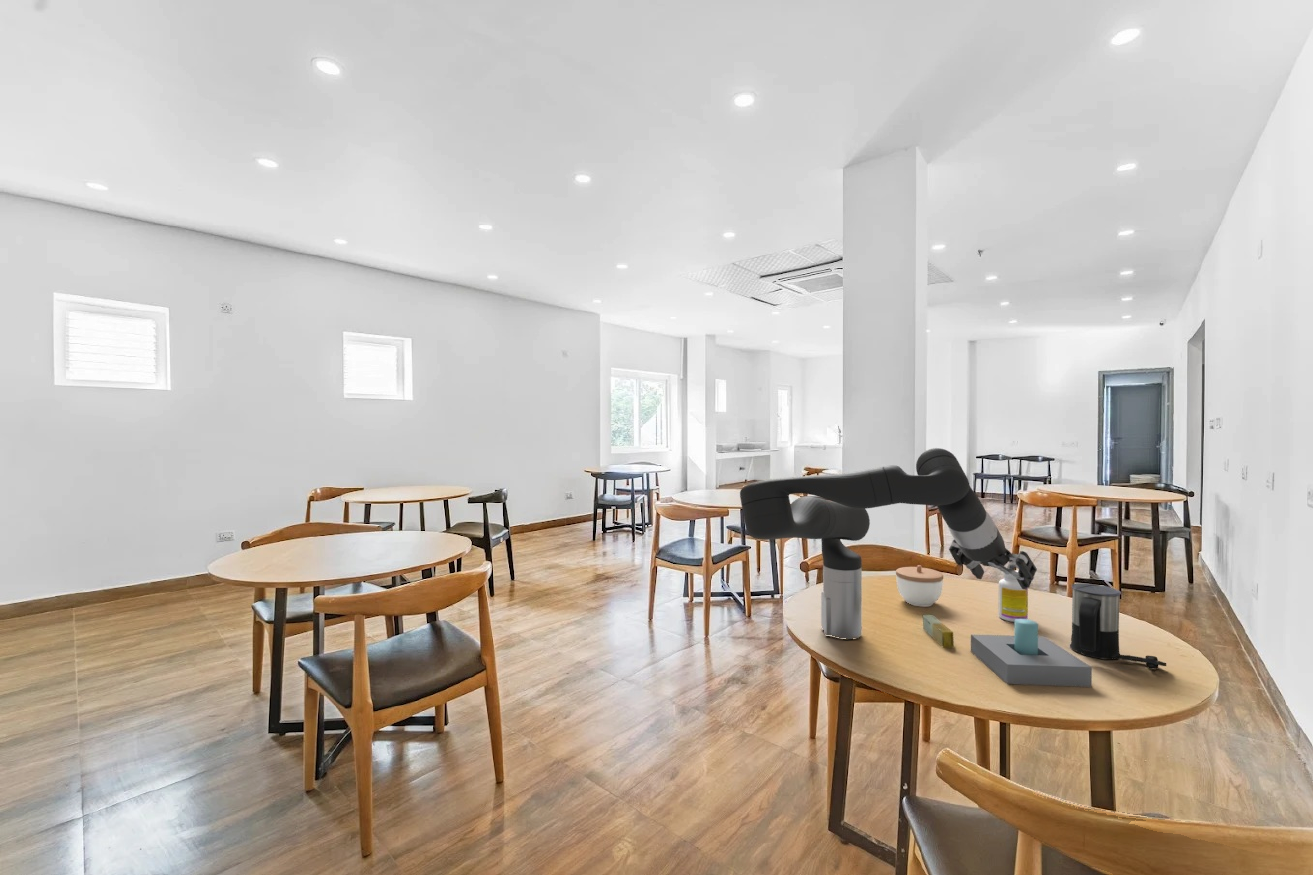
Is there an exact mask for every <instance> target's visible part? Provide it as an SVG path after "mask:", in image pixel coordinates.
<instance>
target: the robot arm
mask: <svg viewBox="0 0 1313 875" xmlns="http://www.w3.org/2000/svg"><path fill="white" fill-rule="evenodd" d="M915 464H916V465H915V470H916V473H917V475H915V474H908V473H907V472H905V471H904V470H903V469H902V468H901V467H900V466H898V465H895V464H893V465H892V464H891V465H886V466H879V467H875V468H869V469H868V468H867V469H864V470H859V471H853V472H845V473H836V474H834V473H832V474H817V475H804V476H795V477H781V478H771V479H765V480H759V481H754V482H752V483H749V484H747V485H744V486H743V487H742V488H741V489H740V492H739V497H740V504H741V510H742V514H743V520H744V525H745V530H746V531H747V535H748V536H749V537H750V538H753V539H755V540H762V541H763V540H764V541H765V540H766V541H767V540H779V539H780V540H781V539H790V538H794V539H795V538H797V539H806V540H821V555H822V566H823V567H822V569H823V570H822V572H823V573H822V577H823V578H822V582H823V584H822V586H823V587H822V589H823V591H821V593H820V594H821V596H820V599H821V606H820V607H821V608H820V609H821V610H820V612H821V614H820V615H821V616H820V617H821V619H820V620H821V621H820V623H821V626H822V628H823V630H824V632H825V634H826V635H832V636H835V637H839V638H846V639H853V638H858V637H860V636H861V637H862V635H863V634H862V631H863V630H862V628H863V626H862V624H863V623H862V617H863V616H862V614H863V610H862V605H863V604H862V595H863V594H862V593H863V592H862V585H863V584H862V579H863V578H862V575H863V574H862V570H863V568H862V566H863V565H862V557H861V555H860V554H859V553H857V552H855V551H853V550H851V549H849V548H848V547H847V546H846V545H845V544H844V543H843V542H842V541H841V540H845V541H855V542H856V541H860V540H862V539H863V538H865V536H866V535H867V533H868V532H869V529H870V524H871V523H870V516H869V513H868V511H867V509H872V508H879V507H886V506H890V505H897V504H904V505H905V504H906V505H907V504H908V505H921V506H922V505H923V506H937V509H938V511H939V513H940V515H941V518H943V520H944V522H945V524H946V525H947V527H948V530H949V532H950V534H951V536H952V538H953V540H952V542H951V544H950V546H949V548H948V551H949V552H950V554H951V556H952V558H953V560H954V562H955V563H956V565H958V566H960V567H961V566H963V565H964V566H965V567H966V568H967V569H968V570H970V572H971V574H972V575H973V576H974V577H975V578H976V579H978V580H982V578H983V577H984V574H985V570H984V569H983V567H982V566H984V567H992V568H995V569H997V570H999V571H1000V572H1002V573H1003V572H1004V573H1005V574H1011V575H1013V576H1014V577H1016V578H1017V581H1018V583H1019V584H1020V586H1021V588H1022V589H1025V590H1027V588H1028V589H1030V587H1031V584H1032V582H1033V580H1034V578H1035V575H1036V572H1037V571H1038V570H1037V569H1038V568H1037V567H1036V566H1035V564H1034V562H1033V560H1032V559H1031V557H1030V555H1028V553H1027V552H1026V551H1023V550H1020V551H1019V553H1012V552H1011V551H1010V550H1008V549H1007V548H1006V545H1005V540H1004V538H1003V535H1002V534H1001V533H1000V530H999V529H998V527H997V525H996V523H995V521H994V520H993V518H992V517H991V515H990V514H989V513H988V511H987V510H986V508H985V507H984V504H983V503H982V502H981V500H980V497H978V496H977V494H976V492H975V491H974V490H973V489H972V487H971V486H970V481H969V479H968V476H967V474H966V473H965V471H964V470H963V468H962V466H961V464H960V462H959V460H958V459H957V457H956V456H955V454H953V453H952V452H950V451H949V450H947V449H944V448H937V447H933V448H930V449H927V450H925V451H923V452H922V453H921V454H920V455H919V457H918V458H917V459H916V463H915ZM793 494H794V495H795V494H805V495H806V496H801V497H798V498H797V499H795V500H793V501H792V502H791V500H790V495H793ZM807 495H811V496H807ZM1007 564H1008V565H1007ZM1006 565H1007V567H1006ZM1015 569H1018V570H1017V571H1018V572H1016V571H1015ZM822 628H821V629H822ZM823 630H822V631H823ZM824 632H823V633H824ZM825 634H824V635H825ZM861 634H862V635H861ZM861 637H860V638H861ZM858 639H859V638H858ZM853 640H854V639H853Z"/></svg>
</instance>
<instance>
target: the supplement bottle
mask: <svg viewBox="0 0 1313 875" xmlns="http://www.w3.org/2000/svg"><path fill="white" fill-rule="evenodd" d="M1014 570H1015V569H1014ZM1015 571H1016V572H1018V571H1019V570H1015ZM1002 576H1003V578H1001V579H1000V580H999V581H998V611H997V612H998V617H999V618H1000V619H1002V620H1004V621H1005V622H1006V621H1007V622H1011V623H1015V619H1027V620H1029V619H1028V616H1029V610H1028V609H1029V606H1028V604H1029V602H1028V601H1029V597H1028V596H1029V594H1028V593H1029V588H1027V590H1025V589H1022V588H1021V586H1020V584H1019V583H1018V581H1017V578H1016V577H1014V576H1013V575H1011V574H1005V573H1004V572H1002Z"/></svg>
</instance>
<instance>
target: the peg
mask: <svg viewBox="0 0 1313 875" xmlns="http://www.w3.org/2000/svg"><path fill="white" fill-rule="evenodd" d="M1014 636H1015V642H1014V651H1016V652H1017V653H1018V654H1020V655H1038V636H1039V623H1038V622H1036V621H1034V620H1031V619H1015V622H1014Z"/></svg>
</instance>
